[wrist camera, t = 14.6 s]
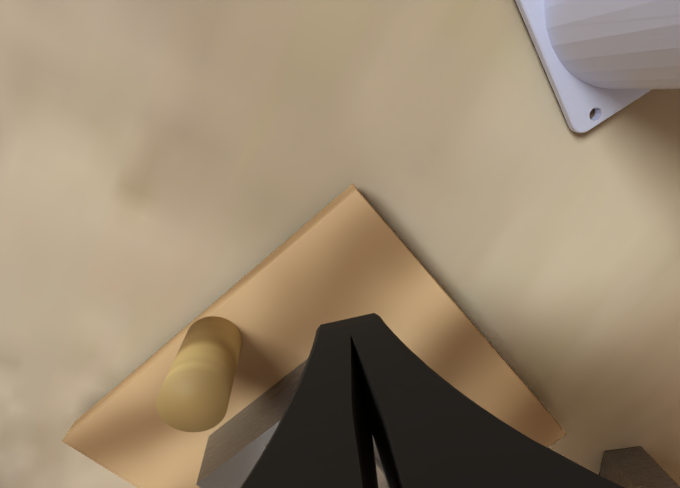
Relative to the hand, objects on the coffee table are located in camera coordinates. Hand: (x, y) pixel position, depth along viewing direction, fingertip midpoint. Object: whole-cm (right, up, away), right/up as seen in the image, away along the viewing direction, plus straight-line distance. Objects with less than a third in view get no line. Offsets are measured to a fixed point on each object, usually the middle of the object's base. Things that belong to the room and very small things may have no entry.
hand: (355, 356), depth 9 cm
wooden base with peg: (-1, -7, +13) cm, 15 cm away
